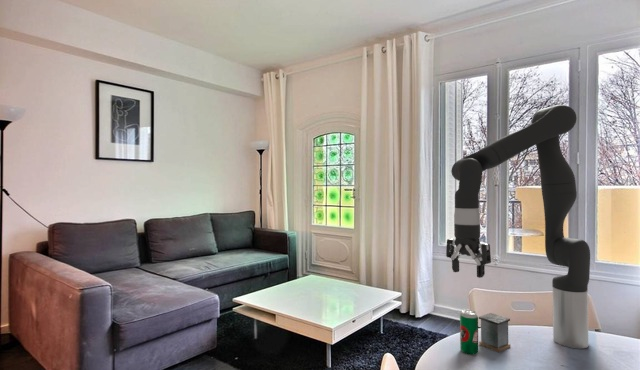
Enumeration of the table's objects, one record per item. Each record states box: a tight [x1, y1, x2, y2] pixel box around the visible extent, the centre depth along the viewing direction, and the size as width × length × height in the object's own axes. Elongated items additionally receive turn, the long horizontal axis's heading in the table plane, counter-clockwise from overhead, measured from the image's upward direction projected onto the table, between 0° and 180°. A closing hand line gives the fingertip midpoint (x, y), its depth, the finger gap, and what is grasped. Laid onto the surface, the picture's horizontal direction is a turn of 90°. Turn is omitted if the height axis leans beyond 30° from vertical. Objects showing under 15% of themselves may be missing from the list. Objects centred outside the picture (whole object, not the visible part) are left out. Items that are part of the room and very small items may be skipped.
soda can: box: [459, 309, 479, 356], centre depth 109 cm, size 5×5×12 cm
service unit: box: [478, 312, 511, 353], centre depth 113 cm, size 6×6×9 cm
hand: (467, 274), depth 112 cm, fingers open, 8 cm apart
